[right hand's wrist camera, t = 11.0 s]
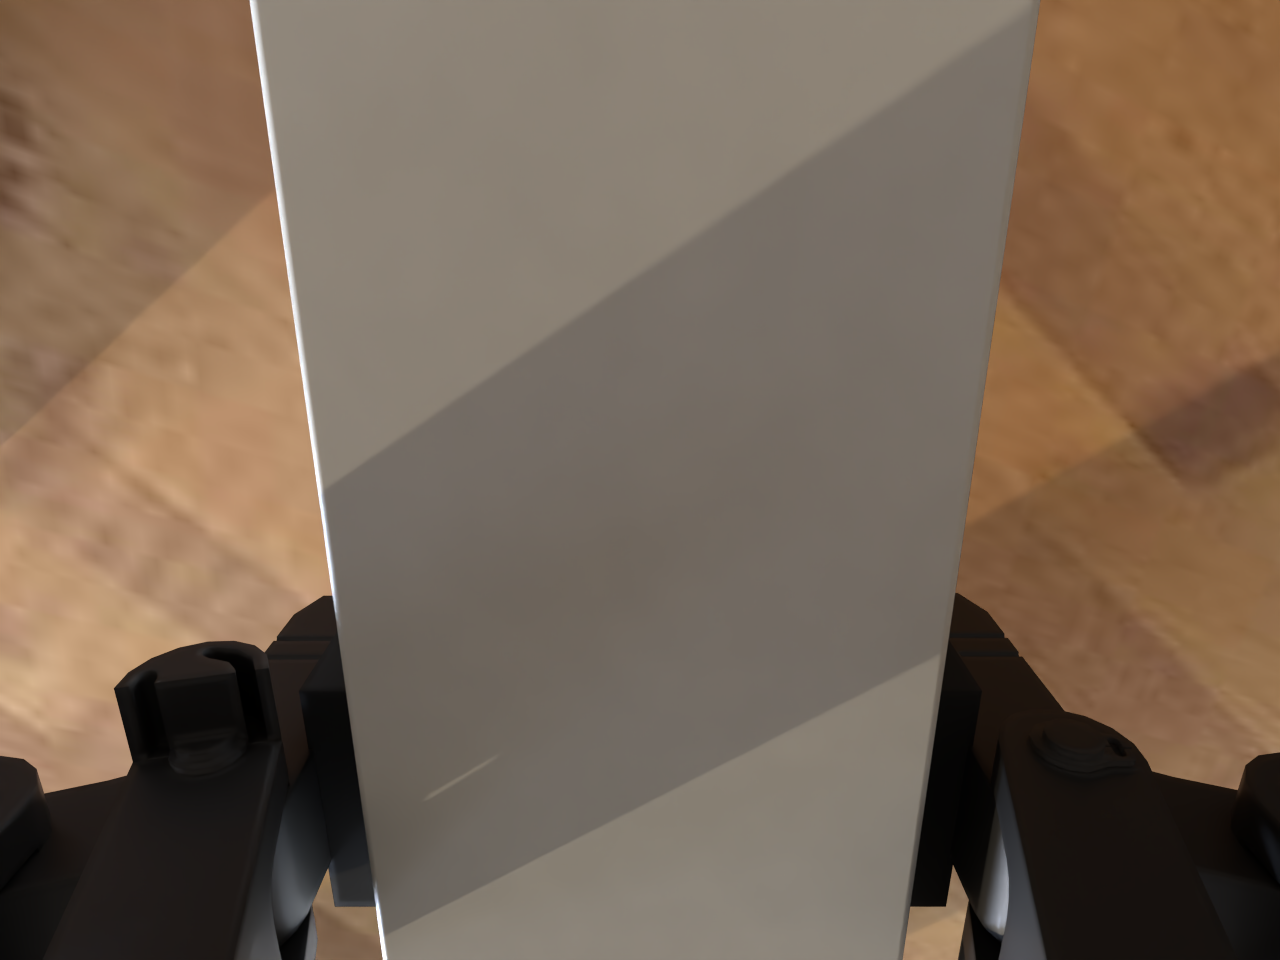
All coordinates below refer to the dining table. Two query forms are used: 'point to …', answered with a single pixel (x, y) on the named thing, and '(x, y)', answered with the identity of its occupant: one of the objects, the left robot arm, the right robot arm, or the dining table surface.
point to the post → (644, 446)
